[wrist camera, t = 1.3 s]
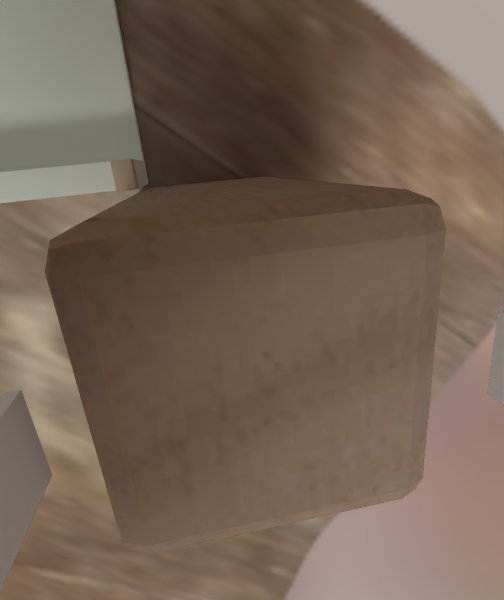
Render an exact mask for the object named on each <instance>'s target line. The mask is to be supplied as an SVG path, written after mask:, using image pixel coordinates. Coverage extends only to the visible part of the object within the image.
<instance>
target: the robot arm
mask: <svg viewBox="0 0 504 600" xmlns="http://www.w3.org/2000/svg"><path fill="white" fill-rule="evenodd" d="M487 393H488V394H489V395H490V396H492V397H493V398H494V399H495V400H497V401H498V402H500V403H501V404H502V405H503V406H504V311H503V312H498V317H497V324H496V331H495V339H494V346H493V353H492V360H491V367H490V374H489V382H488V389H487ZM51 477H52V474H51V471H50V468H49V465H48V463H47V460H46V457H45V454H44V452H43V449H42V446H41V443H40V441H39V438H38V435H37V432H36V430H35V427H34V424H33V421H32V419H31V416H30V413H29V410H28V407H27V405H26V402H25V399H24V396H23V394H22V391H21V390H18V391H12V392H6V393H0V591H1V588H2V586H3V584H4V582H5V579H6V577H7V575H8V573H9V570H10V568H11V566H12V564H13V562H14V559H15V557H16V555H17V553H18V550H19V548H20V546H21V544H22V541H23V539H24V537H25V535H26V533H27V530H28V528H29V526H30V524H31V521H32V519H33V517H34V515H35V512H36V510H37V508H38V506H39V504H40V501H41V499H42V497H43V495H44V492H45V490H46V488H47V486H48V483H49V481H50V479H51Z"/></svg>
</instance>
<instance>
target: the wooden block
mask: <svg viewBox="0 0 504 600" xmlns="http://www.w3.org/2000/svg"><path fill="white" fill-rule="evenodd" d="M445 233H446V229H445V225H444V221H443V217H442V213H441V209H440V206H439V205H438V204H437V203H435V202H434V201H433V200H432V199H431V198H428V197H425V196H423V195H420V194H417V193H414V192H412V191H409V190H406V189H396V188H385V187H374V186H363V185H352V184H341V183H330V182H319V181H308V180H297V179H287V178H276V177H255V178H244V179H234V180H223V181H213V182H202V183H192V184H181V185H171V186H160V187H150V188H147V189H145V190H143V191H142V192H140V193H138V194H136V195H134V196H132V197H130V198H128V199H126V200H124V201H122V202H120V203H118V204H117V205H115V206H113V207H111V208H109V209H107V210H105V211H103V212H101V213H99V214H97V215H95V216H93V217H92V218H90V219H88V220H86V221H84V222H82V223H80V224H78V225H76V226H75V227H73V228H71V229H69V230H67V231H66V232H64V233H62V234H60V235H58V236H57V237H55V238H53V239H51V240H50V243H49V249H48V255H47V262H46V268H45V274H46V278H47V281H48V285H49V288H50V292H51V295H52V299H53V302H54V306H55V309H56V313H57V316H58V320H59V323H60V327H61V330H62V334H63V337H64V341H65V344H66V348H67V351H68V355H69V358H70V362H71V365H72V369H73V372H74V376H75V379H76V383H77V386H78V390H79V393H80V397H81V400H82V404H83V407H84V411H85V414H86V418H87V421H88V425H89V428H90V432H91V435H92V439H93V442H94V446H95V449H96V453H97V456H98V460H99V463H100V467H101V470H102V474H103V477H104V481H105V484H106V488H107V491H108V495H109V498H110V502H111V505H112V509H113V512H114V516H115V519H116V523H117V526H118V529H119V532H120V535H121V538H122V541H123V543H124V544H125V545H126V546H127V547H128V548H129V549H130V550H131V551H135V552H142V553H149V554H154V553H158V552H163V551H167V550H172V549H176V548H181V547H185V546H190V545H194V544H199V543H204V542H208V541H213V540H217V539H222V538H226V537H231V536H235V535H240V534H244V533H249V532H253V531H258V530H262V529H267V528H272V527H276V526H281V525H285V524H290V523H294V522H299V521H303V520H308V519H312V518H317V517H321V516H326V515H330V514H335V513H339V512H344V511H348V510H353V509H358V508H362V507H367V506H371V505H376V504H380V503H384V502H389V501H394V500H398V499H402V498H403V497H405V496H406V495H408V494H409V493H410V492H412V491H413V490H415V489H416V487H417V486H418V484H419V483H420V481H421V480H422V478H423V469H424V458H425V448H426V447H425V446H426V437H427V426H428V425H427V424H428V416H429V405H430V394H431V383H432V373H433V362H434V351H435V340H436V330H437V319H438V308H439V297H440V287H441V276H442V265H443V254H444V244H445Z"/></svg>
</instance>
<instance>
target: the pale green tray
mask: <svg viewBox="0 0 504 600" xmlns="http://www.w3.org/2000/svg"><path fill="white" fill-rule="evenodd" d="M148 184H149V183H148V177H147V172H146V166H145V161H144V156H143V150H142V145H141V139H140V134H139V128H138V123H137V118H136V112H135V107H134V101H133V96H132V91H131V85H130V80H129V74H128V69H127V63H126V58H125V53H124V47H123V42H122V36H121V31H120V26H119V20H118V15H117V9H116V4H115V0H0V203H7V202H16V201H25V200H35V199H44V198H53V197H62V196H72V195H81V194H90V193H99V192H108V191H125V190H134V189H138V188H141V187H143V186H145V185H148Z"/></svg>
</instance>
